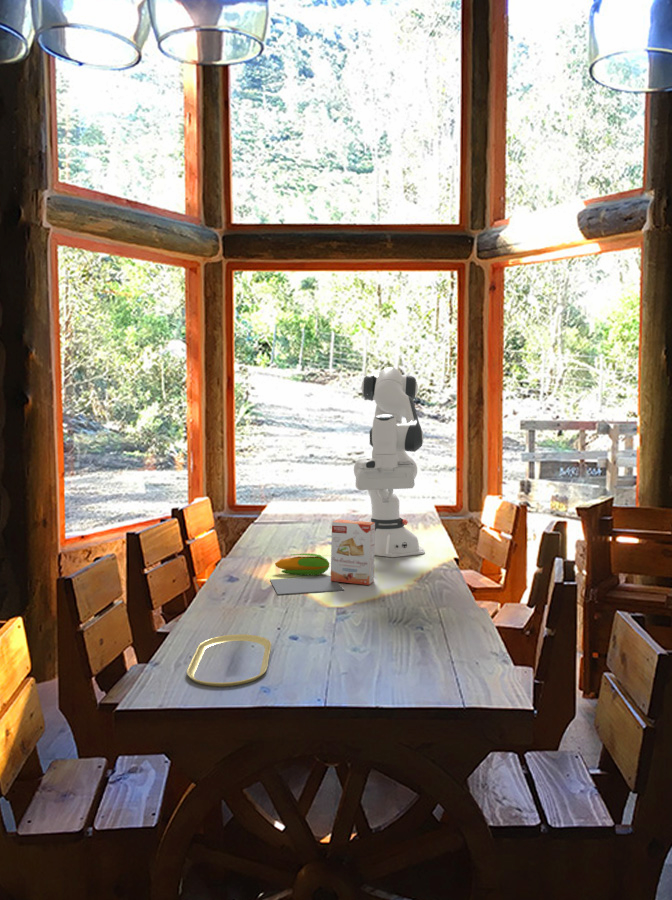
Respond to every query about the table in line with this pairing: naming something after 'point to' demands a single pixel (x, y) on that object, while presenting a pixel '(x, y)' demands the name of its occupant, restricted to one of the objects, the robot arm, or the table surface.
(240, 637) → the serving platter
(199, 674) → the table surface
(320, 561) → the corn
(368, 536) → the cracker box
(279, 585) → the mat
